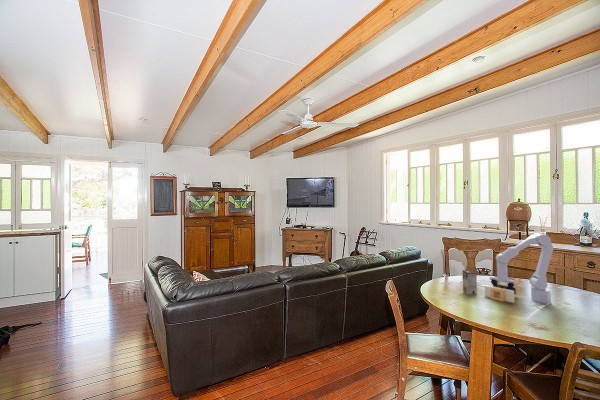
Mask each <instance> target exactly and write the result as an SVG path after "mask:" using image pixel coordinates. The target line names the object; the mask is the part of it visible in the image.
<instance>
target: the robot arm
mask: <svg viewBox="0 0 600 400" xmlns="http://www.w3.org/2000/svg"><path fill="white" fill-rule="evenodd" d="M531 245H538V246H539V247H540V249H541V252H540V255H539V258H538V262H537V266H536V269H535V272H534V273H533V274H532V276H531V277H530V278H529V279H528V280H529V284H530V297H531V301H534V302H537V303H543V304H542V306H546V307H548V306H549V305H551V304H552V299H551V298H552V297H551V296H552V293H551V291H550V290H548V289H547V287H548V282H547V281H548V278H547V272H548V269H549V266H550V262H551V259H552V256H553V252H554V246H553V243H552V239H551V238H550V237H549V236H548V235H547V234H544V233H543V234H542V233H540V232H535V233H533V234H530V235H529V236H528V237H527V238H525V239H524V240H523V241H521V242H520V243H518V244H517V245H515V246H511V247H510V246H508V247H507V249H506V250H504V251H501V252H500V253H498V254H496V257H495V260H496V273H497V274H496V276H489V280H490V283H491V284H492V286H493V287H497V284H499V282H502V283H507V285H506V286H508V290H512V288H513V287H515V285H516V284H517V280H512V279H509V278H508V277H509V272H508V271H509V270H508V263H509V261H510V260H512V259H513V258H514V257H516V256H517V255H519V253H520V251H522V250H523V249H526V248H527V247H529V246H531Z"/></svg>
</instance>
